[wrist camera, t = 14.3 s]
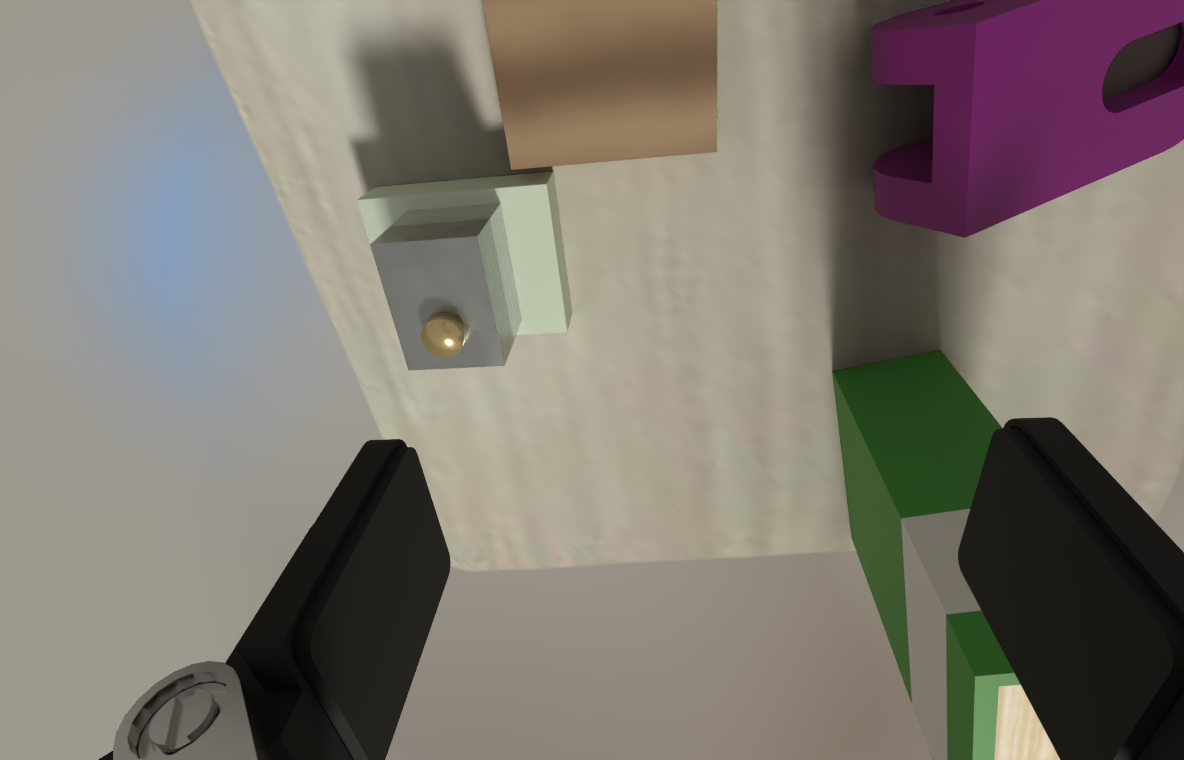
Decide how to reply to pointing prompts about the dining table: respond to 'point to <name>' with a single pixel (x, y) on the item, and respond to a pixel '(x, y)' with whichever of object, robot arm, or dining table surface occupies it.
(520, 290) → the stand
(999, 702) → the hardback book
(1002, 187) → the mounting bracket
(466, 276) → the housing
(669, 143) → the stand
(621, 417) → the dining table surface
